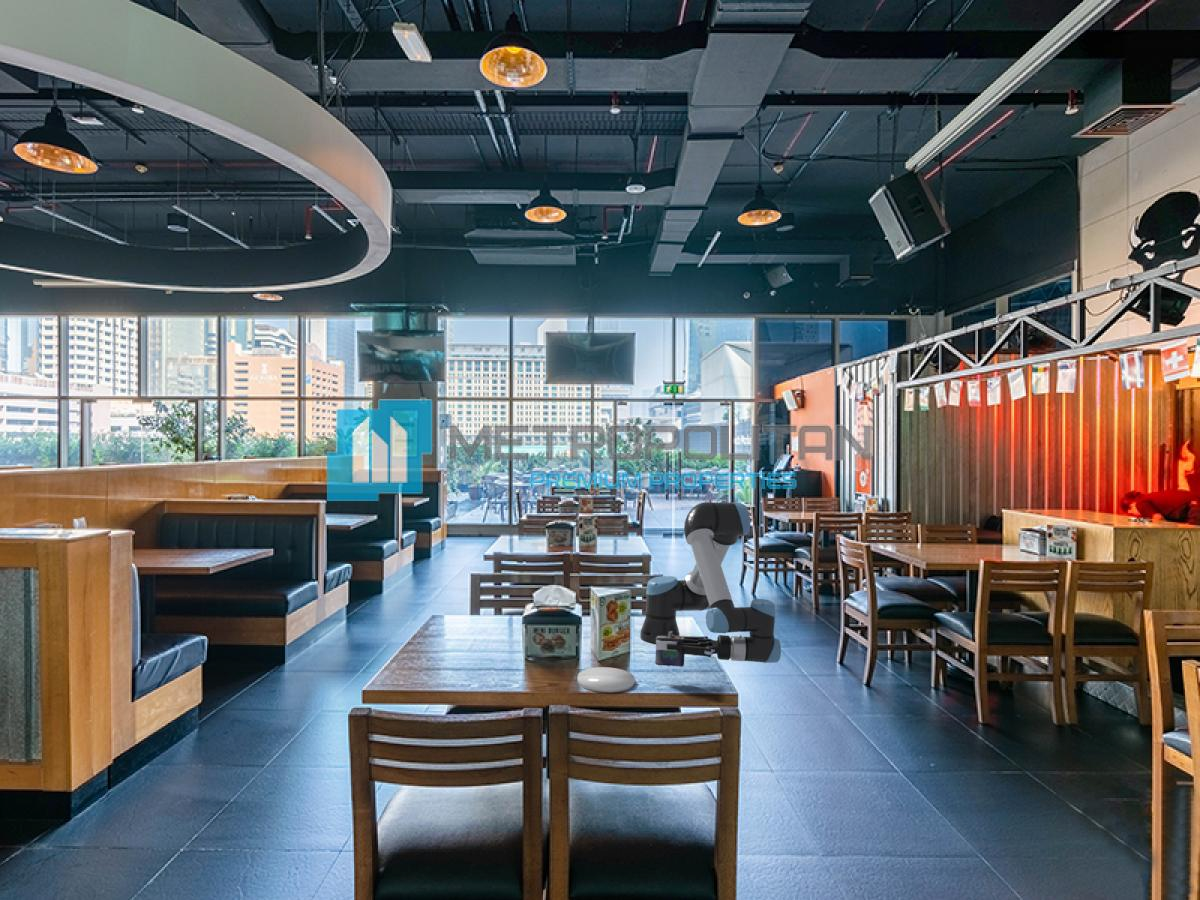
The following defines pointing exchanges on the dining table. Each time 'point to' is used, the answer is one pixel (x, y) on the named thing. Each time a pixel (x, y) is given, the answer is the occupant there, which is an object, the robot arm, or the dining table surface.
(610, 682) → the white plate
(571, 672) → the dining table surface
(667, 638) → the flask
